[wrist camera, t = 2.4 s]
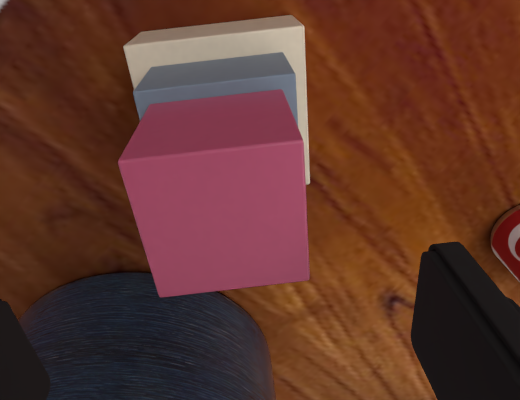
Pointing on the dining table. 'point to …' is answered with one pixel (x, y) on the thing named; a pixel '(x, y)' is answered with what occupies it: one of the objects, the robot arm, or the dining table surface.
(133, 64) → the bottom block
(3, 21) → the dining table surface
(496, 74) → the dining table surface
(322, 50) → the dining table surface
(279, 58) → the middle block
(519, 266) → the soda can
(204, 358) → the planter
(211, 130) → the top block
